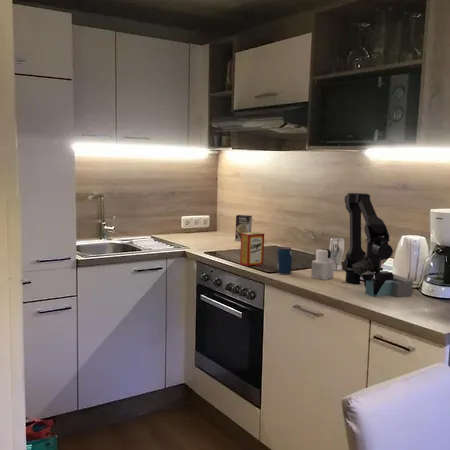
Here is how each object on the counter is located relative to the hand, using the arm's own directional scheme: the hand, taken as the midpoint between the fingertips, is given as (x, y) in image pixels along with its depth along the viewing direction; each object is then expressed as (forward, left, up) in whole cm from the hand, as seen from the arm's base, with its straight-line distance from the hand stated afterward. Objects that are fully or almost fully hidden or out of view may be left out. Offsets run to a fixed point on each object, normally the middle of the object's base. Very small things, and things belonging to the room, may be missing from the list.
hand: (371, 293), depth 214 cm
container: (-36, -1, -2) cm, 36 cm away
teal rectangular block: (0, +6, 0) cm, 6 cm away
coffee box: (-141, +2, -2) cm, 141 cm away
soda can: (-48, -15, -2) cm, 50 cm away
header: (0, +11, -2) cm, 11 cm away
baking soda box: (-70, -22, -2) cm, 73 cm away
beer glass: (-50, +14, -2) cm, 52 cm away
